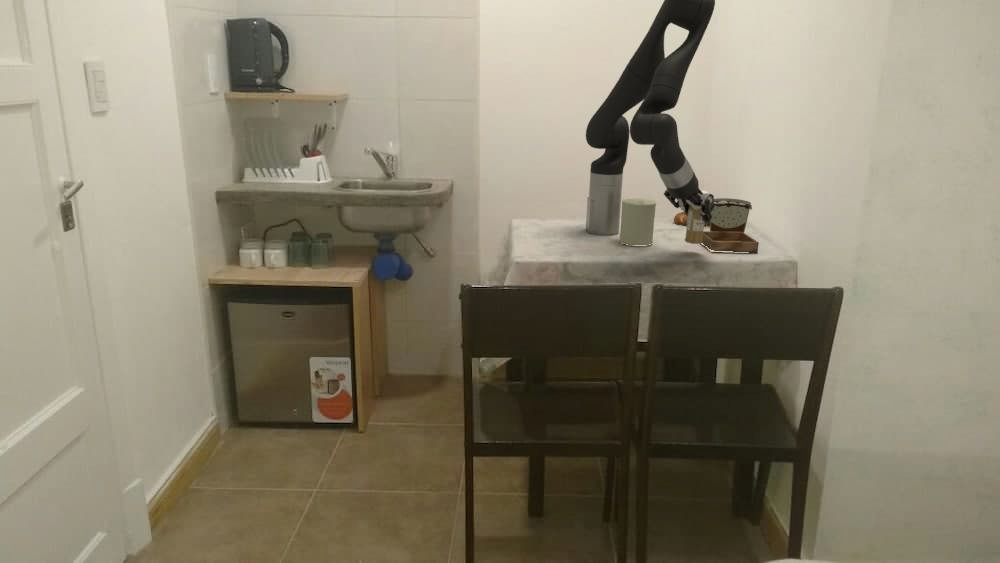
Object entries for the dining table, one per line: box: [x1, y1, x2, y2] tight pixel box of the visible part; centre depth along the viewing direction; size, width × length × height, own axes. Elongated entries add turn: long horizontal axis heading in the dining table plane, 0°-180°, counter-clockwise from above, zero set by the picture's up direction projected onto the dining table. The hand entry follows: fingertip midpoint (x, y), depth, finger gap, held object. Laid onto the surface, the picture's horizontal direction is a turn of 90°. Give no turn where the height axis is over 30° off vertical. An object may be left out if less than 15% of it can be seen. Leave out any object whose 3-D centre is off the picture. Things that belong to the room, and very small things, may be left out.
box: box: [702, 230, 760, 254], centre depth 198 cm, size 12×12×3 cm
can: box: [618, 198, 657, 245], centre depth 199 cm, size 9×9×12 cm
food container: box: [709, 197, 753, 233], centre depth 213 cm, size 12×6×10 cm, turn 84°
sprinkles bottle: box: [684, 189, 710, 245], centre depth 188 cm, size 5×5×14 cm
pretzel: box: [673, 211, 710, 227], centre depth 226 cm, size 12×11×4 cm
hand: (700, 218), depth 189 cm, fingers closed on sprinkles bottle, 4 cm apart
